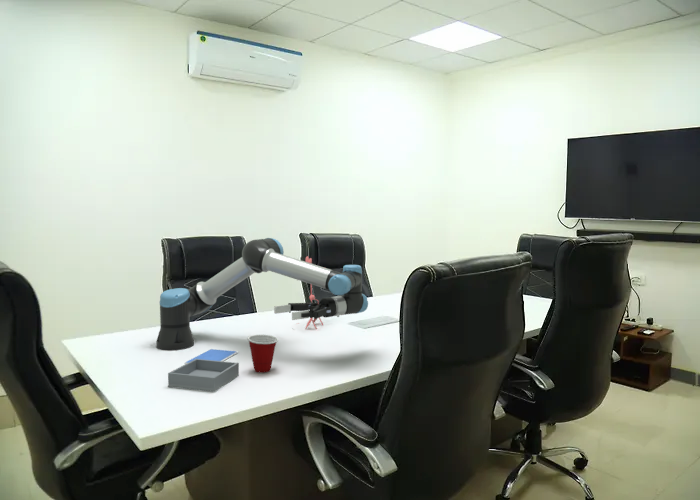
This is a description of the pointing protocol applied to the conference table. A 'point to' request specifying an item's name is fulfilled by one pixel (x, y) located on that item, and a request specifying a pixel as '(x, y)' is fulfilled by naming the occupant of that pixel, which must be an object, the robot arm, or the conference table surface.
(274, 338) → the plastic cup
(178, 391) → the conference table surface
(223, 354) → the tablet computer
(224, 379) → the bin
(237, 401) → the conference table surface
